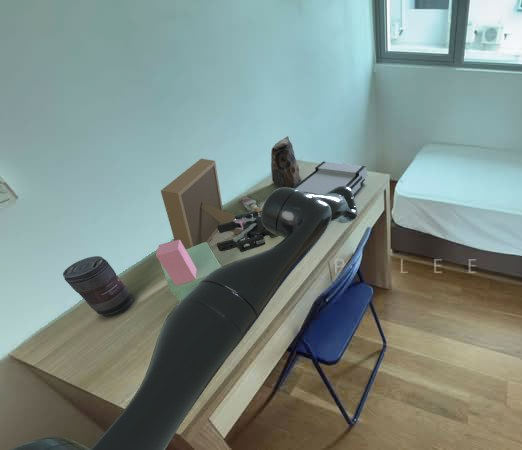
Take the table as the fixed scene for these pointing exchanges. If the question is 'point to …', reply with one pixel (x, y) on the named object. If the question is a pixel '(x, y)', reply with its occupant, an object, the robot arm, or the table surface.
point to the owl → (284, 165)
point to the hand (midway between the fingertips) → (218, 238)
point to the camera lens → (99, 286)
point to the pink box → (176, 262)
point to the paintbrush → (250, 204)
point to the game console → (333, 178)
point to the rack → (204, 266)
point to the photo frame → (195, 204)
